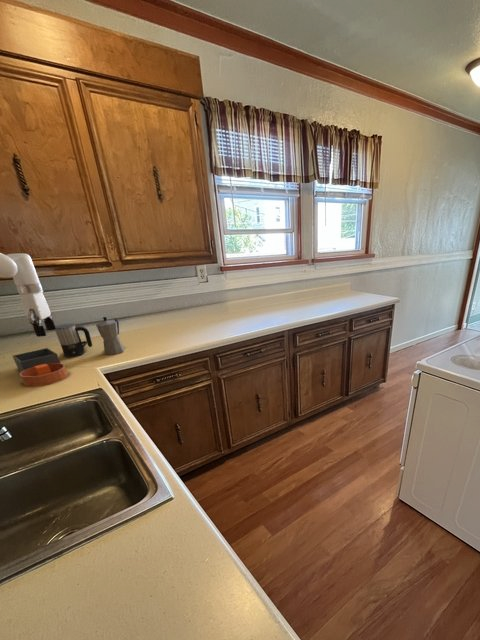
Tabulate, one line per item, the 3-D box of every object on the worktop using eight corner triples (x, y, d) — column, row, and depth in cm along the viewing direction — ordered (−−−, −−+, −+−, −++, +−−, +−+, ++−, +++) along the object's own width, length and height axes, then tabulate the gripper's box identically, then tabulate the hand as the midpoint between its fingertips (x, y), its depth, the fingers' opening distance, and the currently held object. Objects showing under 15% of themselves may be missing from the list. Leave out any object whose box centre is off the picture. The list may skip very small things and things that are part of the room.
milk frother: (68, 358, 160) (57, 329, 153) (55, 352, 168) (44, 324, 162) (98, 351, 170) (89, 322, 163) (85, 345, 178) (76, 318, 172)
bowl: (30, 391, 126) (25, 380, 124) (20, 382, 135) (15, 371, 133) (74, 379, 137) (70, 368, 134) (61, 371, 145) (57, 360, 143)
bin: (27, 378, 138) (20, 362, 135) (19, 371, 146) (12, 355, 142) (62, 369, 147) (56, 353, 144) (53, 363, 155) (47, 347, 151)
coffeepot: (115, 356, 161) (105, 320, 153) (98, 356, 162) (86, 320, 154) (132, 346, 175) (123, 313, 167) (116, 346, 176) (106, 313, 168)
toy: (42, 382, 133) (36, 368, 130) (39, 379, 135) (33, 366, 133) (53, 379, 136) (48, 365, 133) (50, 376, 138) (45, 363, 135)
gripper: (29, 286, 131) (45, 328, 139) (6, 293, 116) (26, 339, 124) (50, 285, 132) (65, 326, 140) (31, 291, 117) (48, 337, 125)
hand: (47, 332), depth 132 cm, fingers open, 9 cm apart
